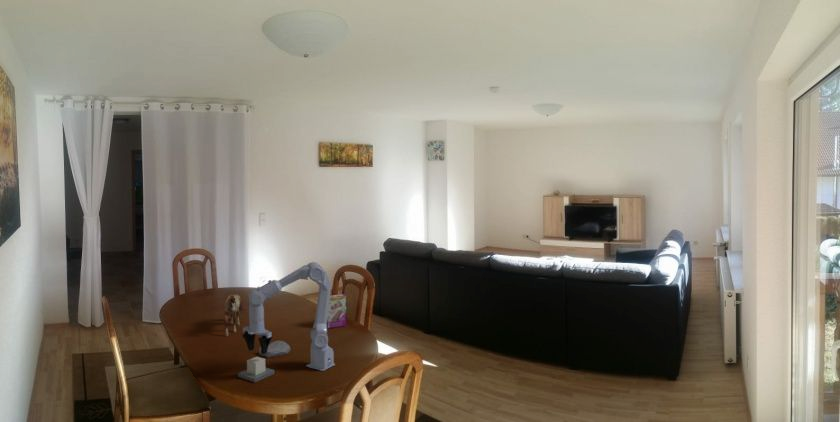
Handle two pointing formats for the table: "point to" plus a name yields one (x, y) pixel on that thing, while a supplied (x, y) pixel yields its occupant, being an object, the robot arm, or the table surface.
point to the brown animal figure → (232, 310)
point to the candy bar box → (336, 311)
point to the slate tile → (256, 377)
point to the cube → (256, 365)
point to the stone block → (276, 349)
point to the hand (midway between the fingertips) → (257, 351)
